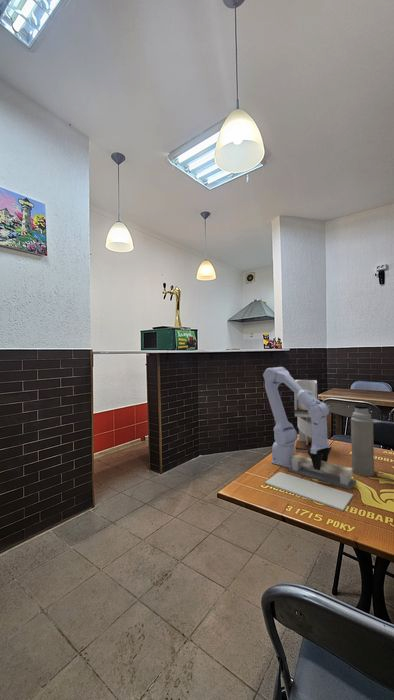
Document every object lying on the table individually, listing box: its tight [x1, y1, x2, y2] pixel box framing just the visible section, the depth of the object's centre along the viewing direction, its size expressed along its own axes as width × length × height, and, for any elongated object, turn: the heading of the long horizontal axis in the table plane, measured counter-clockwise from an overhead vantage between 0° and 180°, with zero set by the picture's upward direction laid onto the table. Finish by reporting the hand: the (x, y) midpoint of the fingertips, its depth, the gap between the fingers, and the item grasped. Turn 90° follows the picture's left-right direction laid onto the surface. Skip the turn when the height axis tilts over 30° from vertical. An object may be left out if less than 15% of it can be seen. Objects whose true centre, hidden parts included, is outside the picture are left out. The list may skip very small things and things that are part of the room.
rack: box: [287, 460, 357, 490], centre depth 113 cm, size 24×8×4 cm, turn 47°
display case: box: [293, 379, 318, 454], centre depth 144 cm, size 11×11×35 cm
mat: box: [264, 471, 354, 512], centre depth 103 cm, size 28×12×1 cm, turn 47°
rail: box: [291, 453, 354, 479], centre depth 113 cm, size 23×3×3 cm, turn 47°
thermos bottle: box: [350, 404, 375, 477], centre depth 116 cm, size 8×8×28 cm
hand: (320, 466), depth 113 cm, fingers open, 7 cm apart
